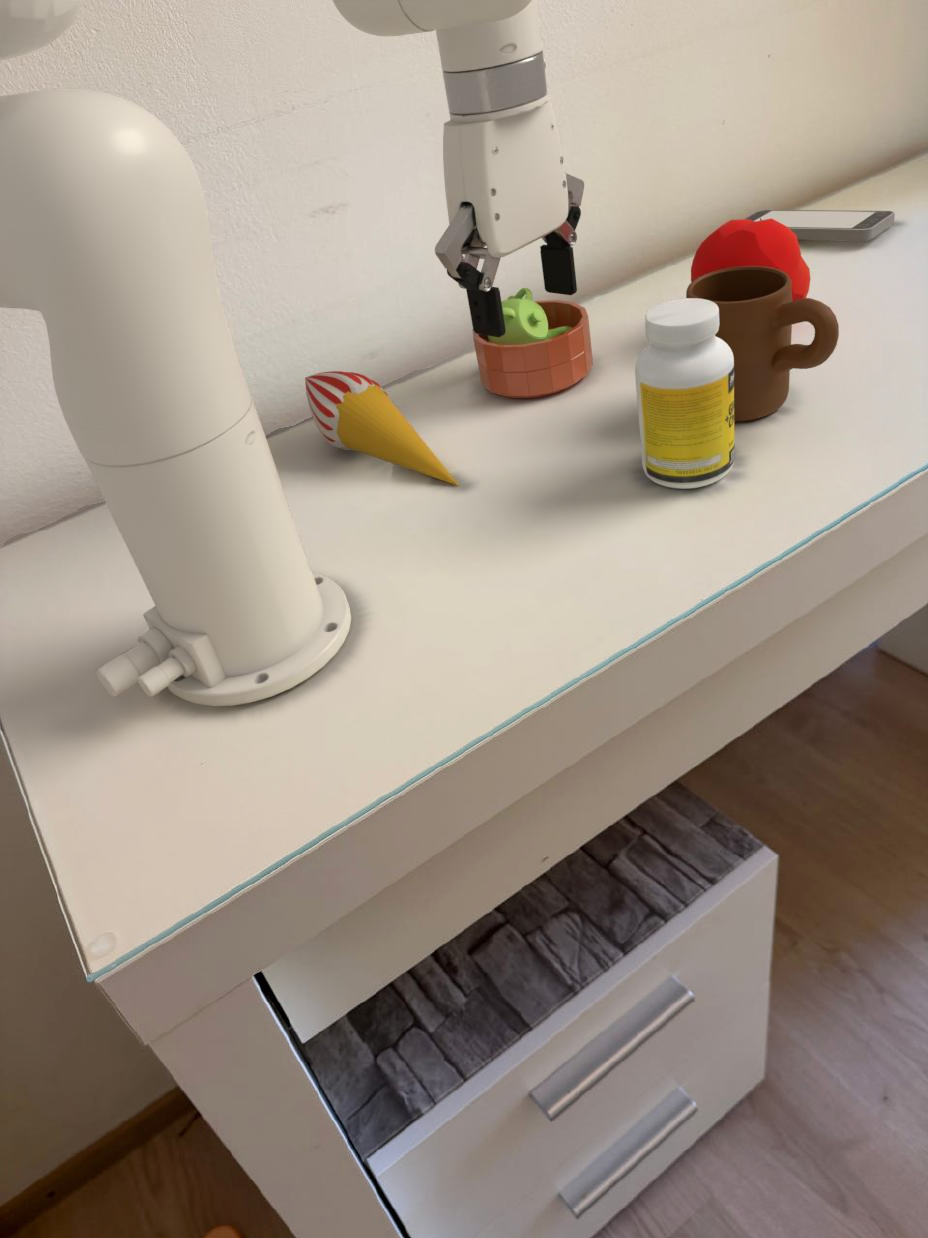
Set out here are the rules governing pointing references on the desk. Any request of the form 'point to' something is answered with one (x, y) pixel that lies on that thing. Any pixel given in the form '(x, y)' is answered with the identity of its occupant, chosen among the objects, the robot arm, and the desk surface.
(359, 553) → the desk surface
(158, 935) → the desk surface
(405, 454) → the ice cream cone
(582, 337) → the bowl
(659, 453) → the pill bottle
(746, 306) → the mug
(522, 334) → the multi-spout teapot
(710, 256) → the tomato
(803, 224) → the smartphone
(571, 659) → the desk surface
